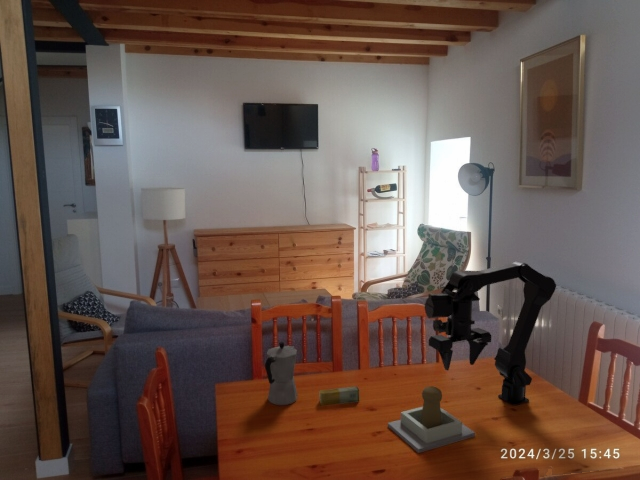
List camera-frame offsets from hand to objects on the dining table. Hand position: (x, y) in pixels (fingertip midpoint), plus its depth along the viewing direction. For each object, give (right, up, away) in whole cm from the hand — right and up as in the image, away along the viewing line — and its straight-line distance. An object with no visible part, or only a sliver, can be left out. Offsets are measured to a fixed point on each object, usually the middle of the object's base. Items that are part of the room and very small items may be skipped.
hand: (459, 367), depth 143 cm
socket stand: (-11, -14, -12) cm, 22 cm away
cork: (-11, -13, -12) cm, 21 cm away
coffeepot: (-53, -12, +6) cm, 54 cm away
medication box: (-35, -12, +5) cm, 37 cm away
